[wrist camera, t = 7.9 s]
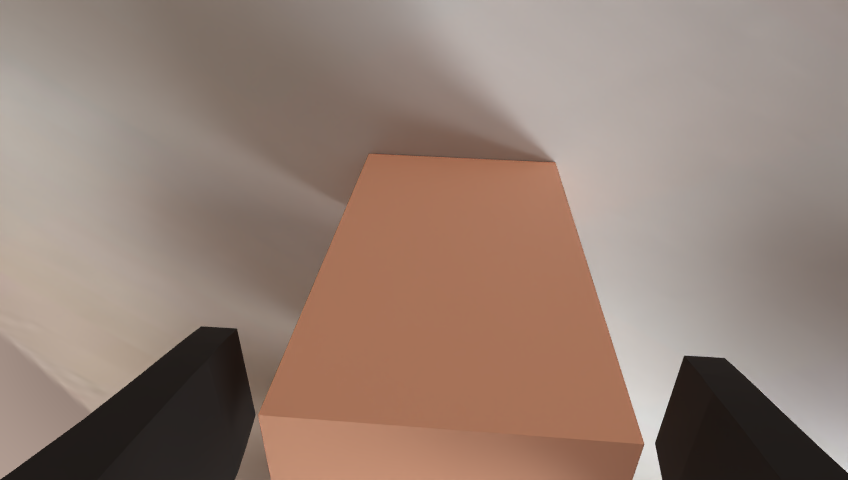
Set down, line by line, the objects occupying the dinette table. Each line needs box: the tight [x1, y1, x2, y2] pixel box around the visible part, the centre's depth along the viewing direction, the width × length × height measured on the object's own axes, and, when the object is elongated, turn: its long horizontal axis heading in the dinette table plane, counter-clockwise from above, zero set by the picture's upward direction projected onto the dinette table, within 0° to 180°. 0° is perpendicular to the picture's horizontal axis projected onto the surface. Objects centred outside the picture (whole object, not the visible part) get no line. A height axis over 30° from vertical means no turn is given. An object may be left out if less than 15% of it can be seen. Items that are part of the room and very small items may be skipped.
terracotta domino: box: [258, 154, 644, 480], centre depth 11 cm, size 2×5×9 cm, turn 89°
